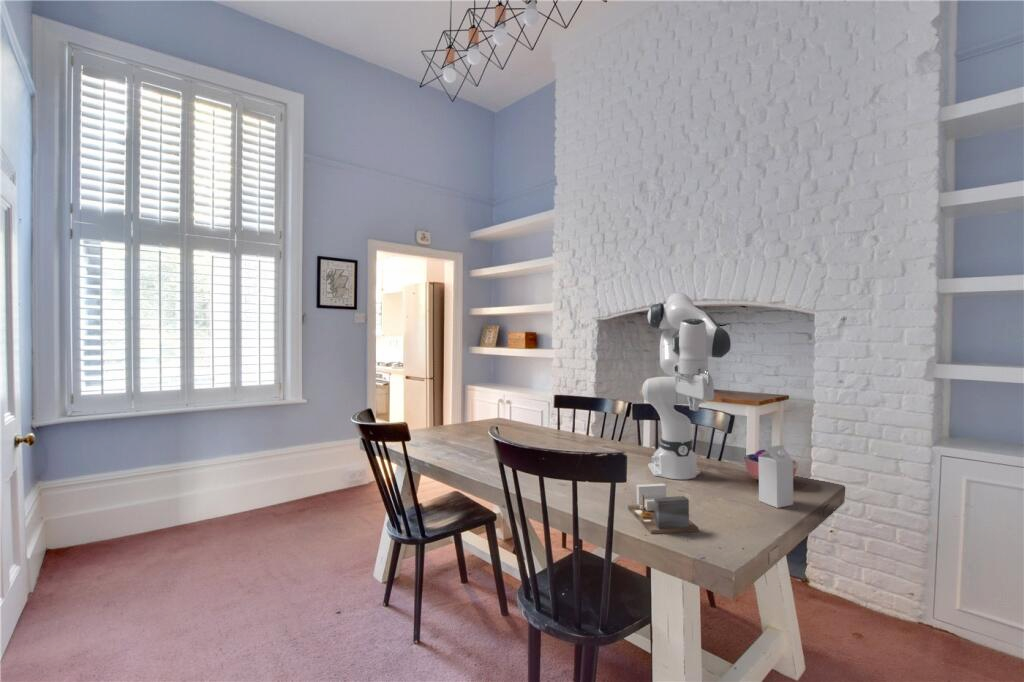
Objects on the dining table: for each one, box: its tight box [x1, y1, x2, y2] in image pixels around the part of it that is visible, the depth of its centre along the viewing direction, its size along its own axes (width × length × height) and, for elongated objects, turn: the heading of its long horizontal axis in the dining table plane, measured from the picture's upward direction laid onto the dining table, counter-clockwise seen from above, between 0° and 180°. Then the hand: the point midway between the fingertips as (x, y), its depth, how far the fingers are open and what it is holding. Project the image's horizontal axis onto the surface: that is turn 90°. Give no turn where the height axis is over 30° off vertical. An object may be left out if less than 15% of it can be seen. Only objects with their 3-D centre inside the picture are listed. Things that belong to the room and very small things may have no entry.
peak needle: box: [641, 495, 651, 517], centre depth 146 cm, size 1×3×6 cm, turn 95°
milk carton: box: [758, 444, 794, 509], centre depth 158 cm, size 7×7×19 cm
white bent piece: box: [636, 483, 667, 511], centre depth 151 cm, size 8×9×7 cm
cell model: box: [741, 449, 799, 481], centre depth 180 cm, size 17×20×11 cm
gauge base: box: [627, 495, 699, 534], centre depth 147 cm, size 20×14×9 cm
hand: (694, 410), depth 158 cm, fingers closed
